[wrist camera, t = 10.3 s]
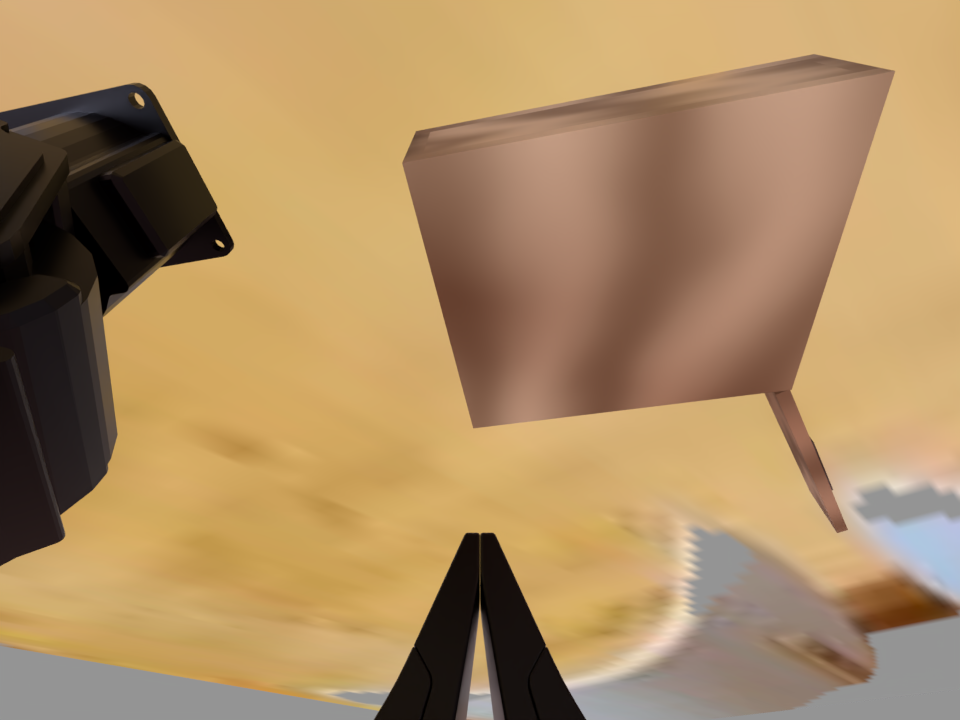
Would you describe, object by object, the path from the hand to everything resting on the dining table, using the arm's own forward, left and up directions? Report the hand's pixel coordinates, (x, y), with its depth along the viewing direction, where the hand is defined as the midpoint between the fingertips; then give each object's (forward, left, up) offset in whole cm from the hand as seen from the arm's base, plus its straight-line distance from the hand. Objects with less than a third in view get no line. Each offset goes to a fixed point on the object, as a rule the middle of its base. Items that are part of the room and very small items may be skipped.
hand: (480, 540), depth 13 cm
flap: (+16, -11, -12) cm, 23 cm away
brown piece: (+6, +2, -12) cm, 14 cm away
